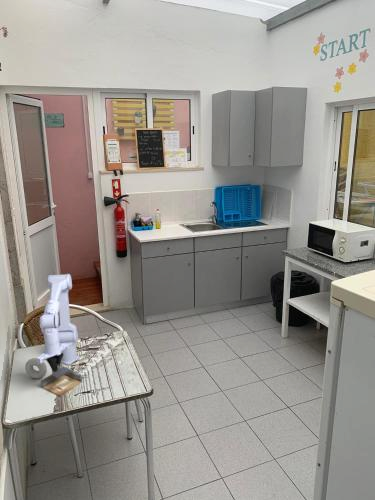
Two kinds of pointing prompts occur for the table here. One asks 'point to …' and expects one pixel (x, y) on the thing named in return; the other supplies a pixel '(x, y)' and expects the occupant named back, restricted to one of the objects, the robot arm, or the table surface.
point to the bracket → (60, 371)
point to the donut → (32, 371)
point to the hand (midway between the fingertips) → (55, 370)
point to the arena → (61, 383)
